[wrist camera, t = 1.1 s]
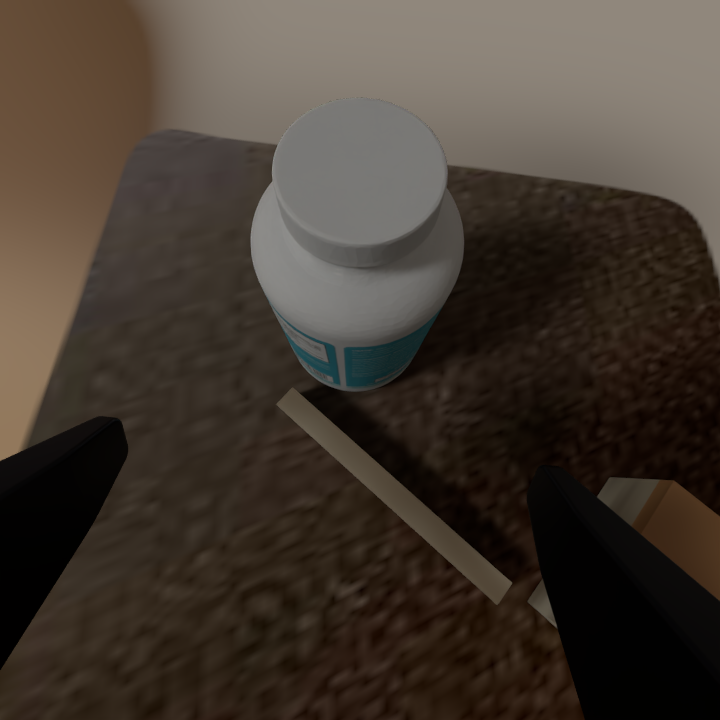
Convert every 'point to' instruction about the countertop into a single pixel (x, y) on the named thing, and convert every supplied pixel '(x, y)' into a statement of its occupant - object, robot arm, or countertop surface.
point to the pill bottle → (357, 240)
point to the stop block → (662, 529)
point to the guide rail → (396, 496)
